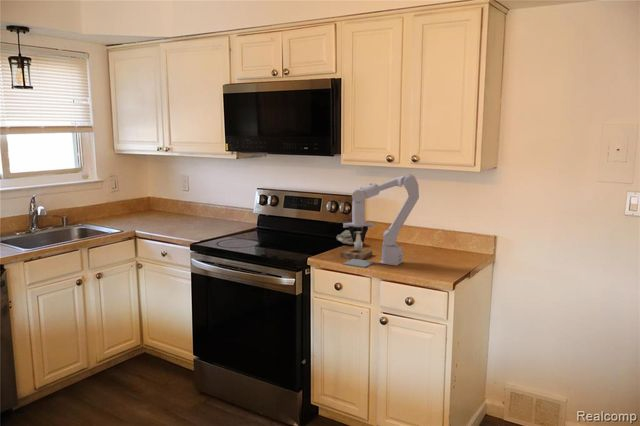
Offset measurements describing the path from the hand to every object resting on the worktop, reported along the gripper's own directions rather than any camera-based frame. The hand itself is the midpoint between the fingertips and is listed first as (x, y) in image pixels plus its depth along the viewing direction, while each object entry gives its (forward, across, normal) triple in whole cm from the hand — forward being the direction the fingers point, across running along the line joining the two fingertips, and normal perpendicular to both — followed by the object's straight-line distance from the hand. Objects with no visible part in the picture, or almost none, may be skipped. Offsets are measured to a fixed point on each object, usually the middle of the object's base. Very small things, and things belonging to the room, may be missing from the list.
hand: (358, 241), depth 248 cm
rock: (+10, +4, -39) cm, 41 cm away
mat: (+10, 0, +3) cm, 11 cm away
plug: (+3, 0, 0) cm, 3 cm away
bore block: (+10, +1, -11) cm, 15 cm away
